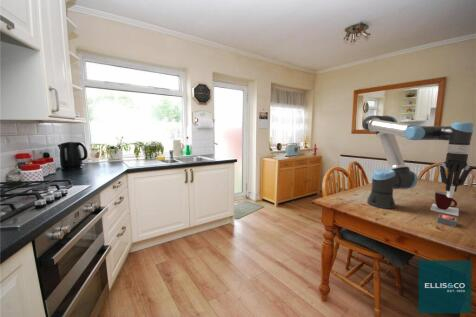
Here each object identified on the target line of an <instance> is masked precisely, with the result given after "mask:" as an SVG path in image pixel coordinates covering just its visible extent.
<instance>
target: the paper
mask: <svg viewBox="0 0 476 317" xmlns="http://www.w3.org/2000/svg"><path fill="white" fill-rule="evenodd" d="M429 209H430V211H433V212H438V213H440V214H445V215H449V216H454V217H455V216H456V217H459V214H460V208H457V207H449V208H448V209H446V210H444V209H439V208H438V207H437V205H436V203H432V205H431V207H430V208H429Z"/></svg>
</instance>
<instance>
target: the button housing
mask: <svg viewBox="0 0 476 317" xmlns="http://www.w3.org/2000/svg"><path fill="white" fill-rule="evenodd" d="M442 215H443V213H439V214H438V216H437V221H436V222H437V223H438V224H442V225H445V226H450V227H453V228H456V227H457V220H458V217H455V216H453V217H454V218H453V220H449V219H445V218H441V217H442Z"/></svg>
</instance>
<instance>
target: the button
mask: <svg viewBox="0 0 476 317" xmlns="http://www.w3.org/2000/svg"><path fill="white" fill-rule="evenodd" d="M454 217H455V216H453V215H450V214H442V217H441V218H445V219H449V220H453V218H454Z"/></svg>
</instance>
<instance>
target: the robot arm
mask: <svg viewBox="0 0 476 317" xmlns="http://www.w3.org/2000/svg"><path fill="white" fill-rule="evenodd" d="M361 123H362V124H361V127H362V128H363V130H364V131H367V132H371V133H375V135H376V136H377V138H379V139H380V142H381V145H382V148H383V151H384V156H385V159H386V161H387V164H388V168H387V169H386V168H384V169H383V168H382V169H381V168H380V169H375V170H374V171H373V173H372V179H371V180H372V181H371V188H370V189H371V191H370V193H369V195H368V198H367V201H366V203H367V204H368V205H370V206H373V207H376V208H379V209H387V210H388V209H389V210H390V209H395V207H396V203H395V199H394V190H408V189H413V188H414V187H416V185H417V184H418V181H419V180H418V176H417V173H415V172H413V171H412V170H411V169H410V167H409V166H407V165H406V164H405V160H404V158H403V155H402V152H401V149H400V147H399V144H398V141H397V138H396V136H398V137H402V138H405V139H407V140H409V141H448V144H447V153H446V157H445V161H444V163H443V164H438V165H437V167H438V169H439V172H440V179H441V183H442V184H444V185H445V192H447V195H446V196H447V197H449V198H453V199H454V196H455V193H457V189H458V187H459V186H463V185H464V183H465V182H466V180H467V177H468V176H469V174H470V173H471V172H472V171H473V170H474V168H473V167H472V166H471V167H470V166H469V165H468V159H469V154H468V153H470V147H471V140H472V136H473V133H474V123H473V122H470V121H469V122H466V121H464V122H463V121H462V122H459V121H458V122H452V123H451V125H446V126H445V125H441V126H440V125H439V126H438V125H432V126H431V125H429V126H428V125H427V126H425V125H415V124H409V123H403V122H398V121H397V119H396V117H394V116H393V115H368V116H367V117H365V118H364V119H363V121H362V122H361ZM446 169H447V172H446ZM453 195H454V196H453Z"/></svg>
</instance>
